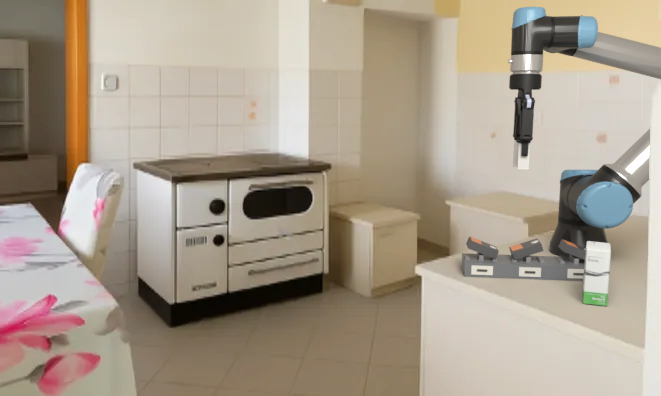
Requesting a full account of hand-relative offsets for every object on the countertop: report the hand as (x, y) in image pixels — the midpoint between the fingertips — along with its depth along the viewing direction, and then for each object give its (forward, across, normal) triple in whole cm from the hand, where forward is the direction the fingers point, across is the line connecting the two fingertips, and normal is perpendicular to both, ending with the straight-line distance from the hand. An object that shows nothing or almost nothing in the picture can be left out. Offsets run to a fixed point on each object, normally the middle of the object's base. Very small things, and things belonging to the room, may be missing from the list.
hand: (520, 167), depth 157 cm
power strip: (+25, +9, +1) cm, 26 cm away
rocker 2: (+20, +9, +1) cm, 22 cm away
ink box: (+25, +27, +12) cm, 39 cm away
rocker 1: (+20, +9, -10) cm, 24 cm away
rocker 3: (+20, +9, +12) cm, 25 cm away
